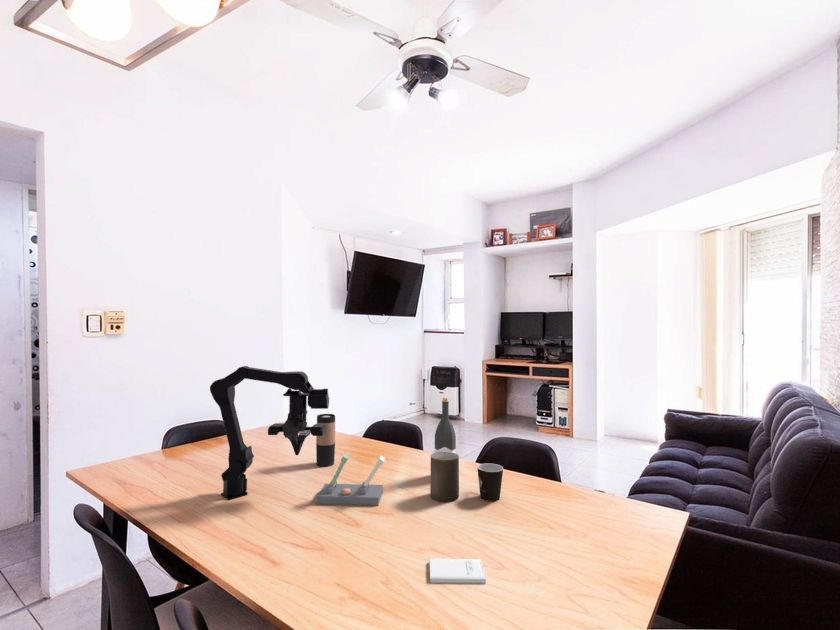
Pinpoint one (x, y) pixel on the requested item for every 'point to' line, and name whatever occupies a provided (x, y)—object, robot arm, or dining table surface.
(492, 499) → the coffee mug
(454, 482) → the pillar candle
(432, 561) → the external hard drive
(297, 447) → the robot arm
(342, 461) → the green lever
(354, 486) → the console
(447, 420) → the wine bottle
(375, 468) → the ivory lever
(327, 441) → the travel mug
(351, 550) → the dining table surface
